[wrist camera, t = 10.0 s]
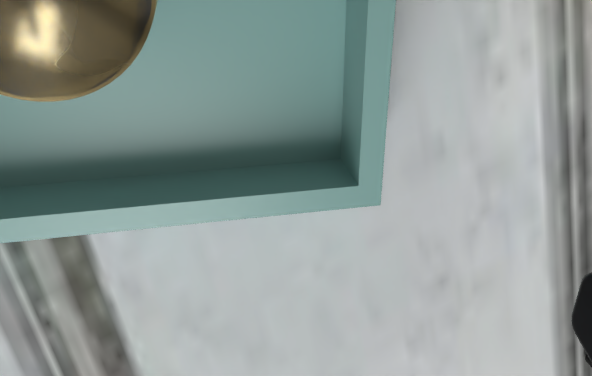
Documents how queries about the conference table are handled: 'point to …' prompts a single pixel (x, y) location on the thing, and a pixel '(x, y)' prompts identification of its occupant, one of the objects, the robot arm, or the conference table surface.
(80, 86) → the steel pin
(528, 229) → the conference table surface
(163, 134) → the tray
